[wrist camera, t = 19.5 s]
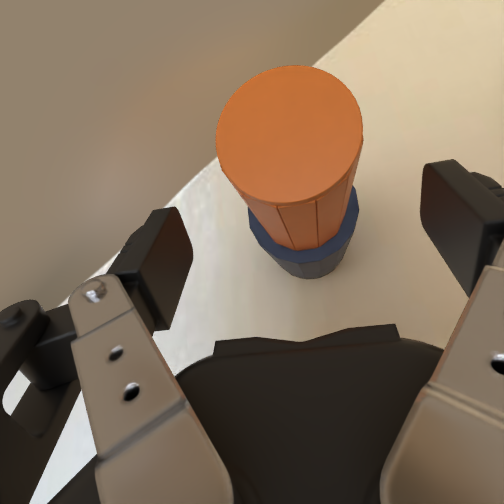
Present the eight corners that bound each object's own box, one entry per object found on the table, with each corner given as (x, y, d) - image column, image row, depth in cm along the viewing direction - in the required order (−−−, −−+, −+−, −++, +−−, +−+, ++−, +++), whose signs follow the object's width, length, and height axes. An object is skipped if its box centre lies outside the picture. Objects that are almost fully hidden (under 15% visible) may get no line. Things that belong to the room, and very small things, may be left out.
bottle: (338, 205, 32) (355, 105, 17) (350, 274, 31) (379, 239, 15) (270, 216, 34) (223, 133, 18) (278, 283, 32) (236, 259, 16)
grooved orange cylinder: (337, 163, 21) (349, 49, 12) (350, 243, 20) (375, 188, 11) (256, 178, 22) (209, 83, 13) (266, 255, 21) (222, 214, 12)
